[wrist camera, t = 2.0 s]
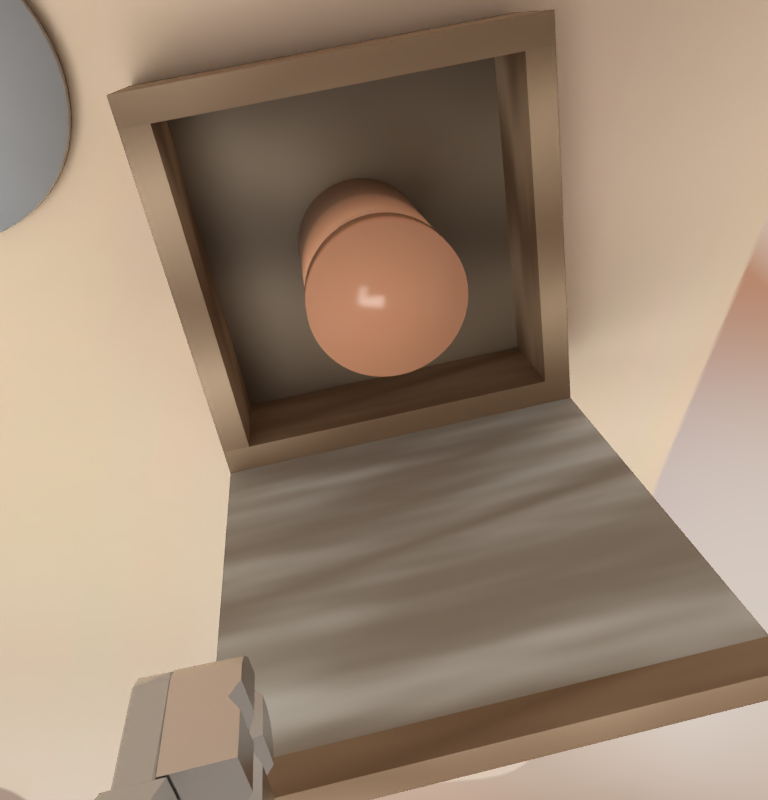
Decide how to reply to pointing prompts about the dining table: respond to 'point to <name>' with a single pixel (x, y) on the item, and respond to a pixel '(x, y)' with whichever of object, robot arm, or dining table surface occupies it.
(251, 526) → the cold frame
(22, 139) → the grey flat disc
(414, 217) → the orange cylinder
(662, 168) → the dining table surface
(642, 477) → the dining table surface
